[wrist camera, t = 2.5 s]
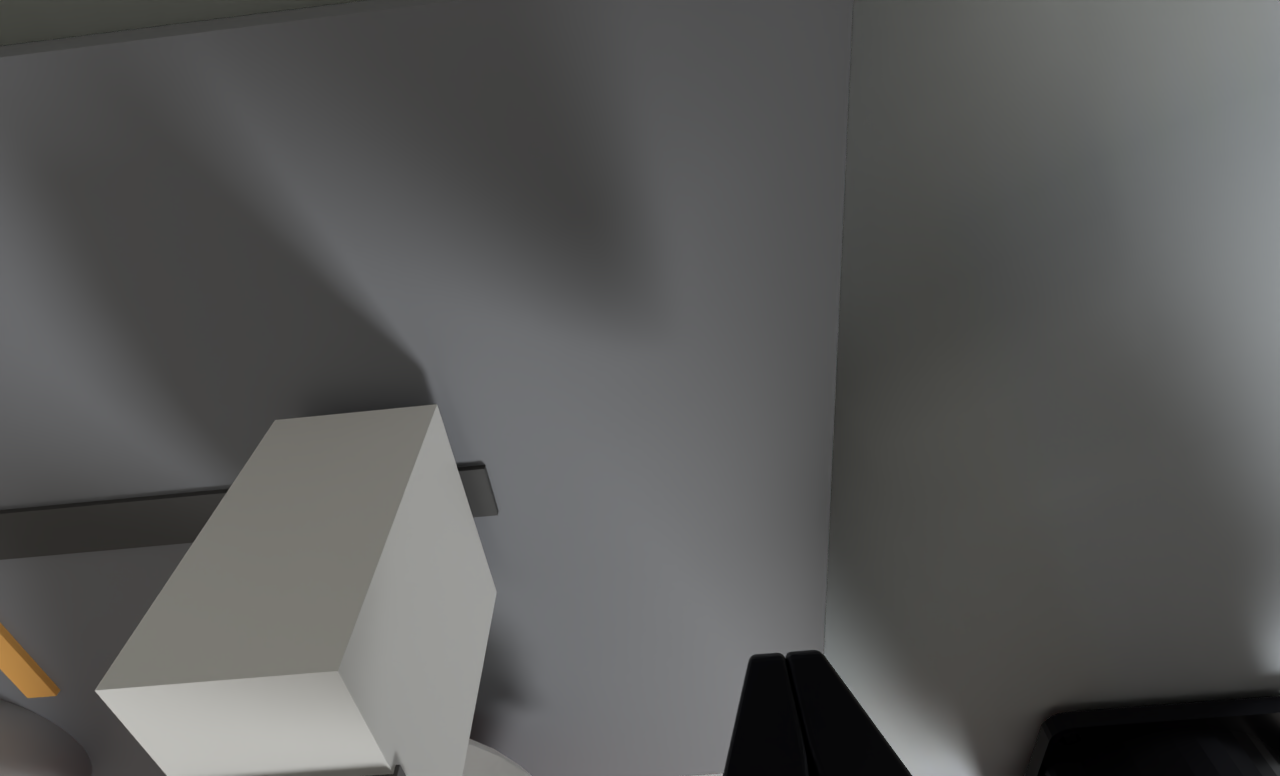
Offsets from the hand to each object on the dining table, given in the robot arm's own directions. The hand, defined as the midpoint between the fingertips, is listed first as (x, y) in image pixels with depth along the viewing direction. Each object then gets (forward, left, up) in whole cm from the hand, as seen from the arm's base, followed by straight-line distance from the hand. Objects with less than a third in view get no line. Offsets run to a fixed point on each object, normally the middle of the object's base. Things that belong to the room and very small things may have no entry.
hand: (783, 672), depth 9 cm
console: (+10, +1, -5) cm, 11 cm away
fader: (+6, 0, -3) cm, 6 cm away
